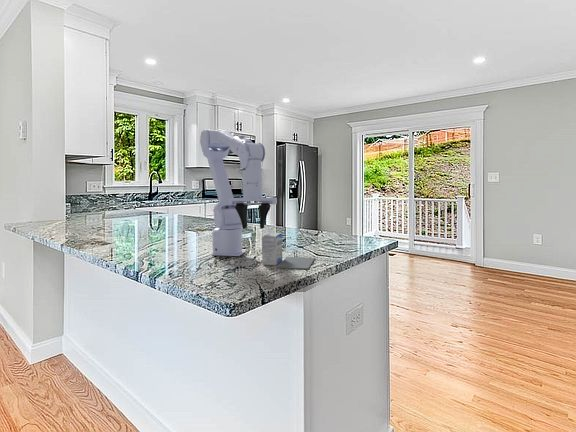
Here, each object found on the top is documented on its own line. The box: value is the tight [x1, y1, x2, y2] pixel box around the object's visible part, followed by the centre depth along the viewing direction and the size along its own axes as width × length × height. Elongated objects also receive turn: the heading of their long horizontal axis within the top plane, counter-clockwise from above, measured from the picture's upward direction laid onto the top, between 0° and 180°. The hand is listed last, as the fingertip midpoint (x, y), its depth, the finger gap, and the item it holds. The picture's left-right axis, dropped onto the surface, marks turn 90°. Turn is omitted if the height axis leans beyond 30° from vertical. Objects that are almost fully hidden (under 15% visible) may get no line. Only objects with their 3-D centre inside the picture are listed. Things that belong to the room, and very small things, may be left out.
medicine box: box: [261, 232, 283, 267], centre depth 112 cm, size 8×4×9 cm, turn 168°
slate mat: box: [276, 256, 316, 271], centre depth 110 cm, size 9×14×1 cm, turn 168°
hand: (253, 228), depth 112 cm, fingers open, 5 cm apart
